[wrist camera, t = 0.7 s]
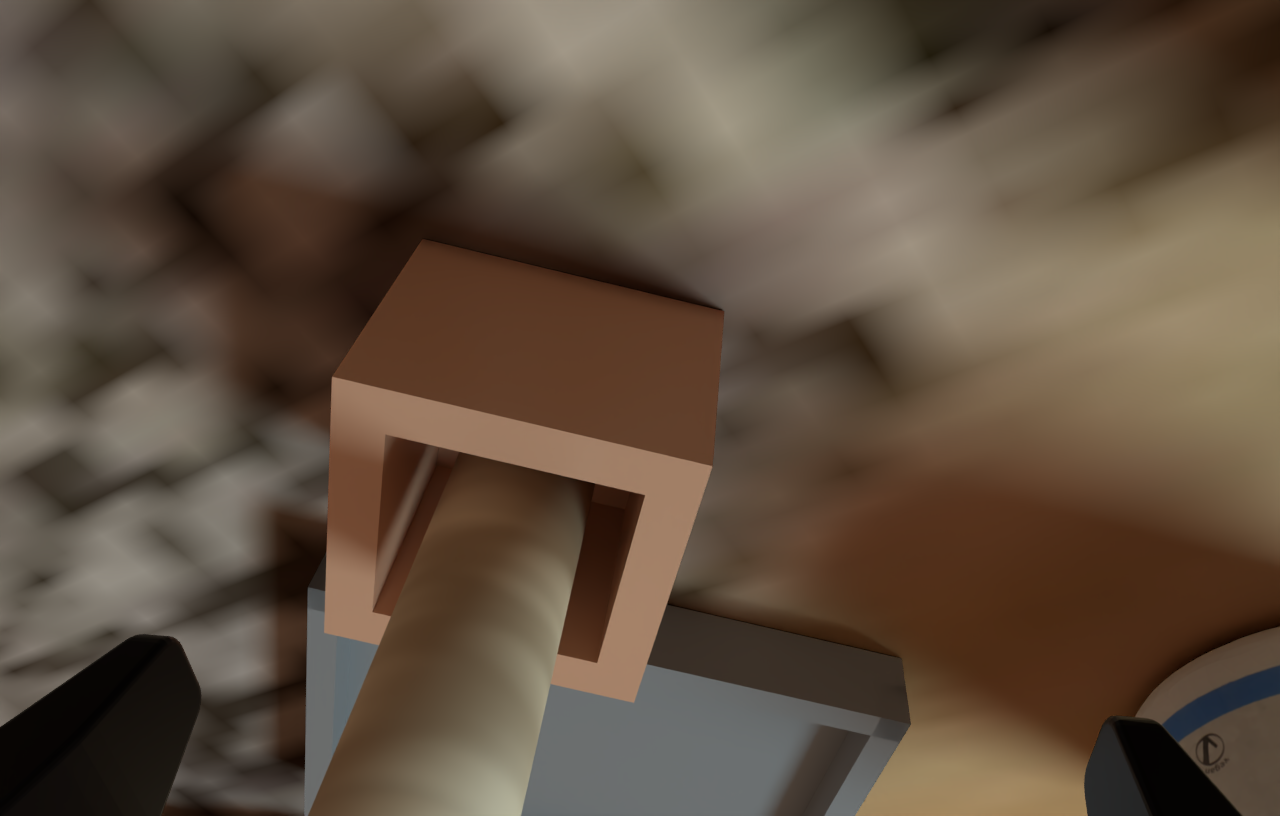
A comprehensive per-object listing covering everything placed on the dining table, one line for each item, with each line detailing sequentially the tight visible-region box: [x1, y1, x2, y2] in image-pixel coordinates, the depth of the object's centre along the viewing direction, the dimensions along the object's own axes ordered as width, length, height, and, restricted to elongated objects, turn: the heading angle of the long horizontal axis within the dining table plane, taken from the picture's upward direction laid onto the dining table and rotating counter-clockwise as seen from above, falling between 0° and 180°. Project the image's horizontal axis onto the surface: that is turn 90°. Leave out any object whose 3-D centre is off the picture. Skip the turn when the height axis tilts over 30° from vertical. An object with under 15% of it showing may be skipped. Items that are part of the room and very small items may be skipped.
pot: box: [324, 239, 724, 703], centre depth 21 cm, size 7×7×6 cm
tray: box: [304, 552, 911, 816], centre depth 30 cm, size 16×12×2 cm
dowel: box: [308, 452, 595, 816], centre depth 19 cm, size 3×3×11 cm
